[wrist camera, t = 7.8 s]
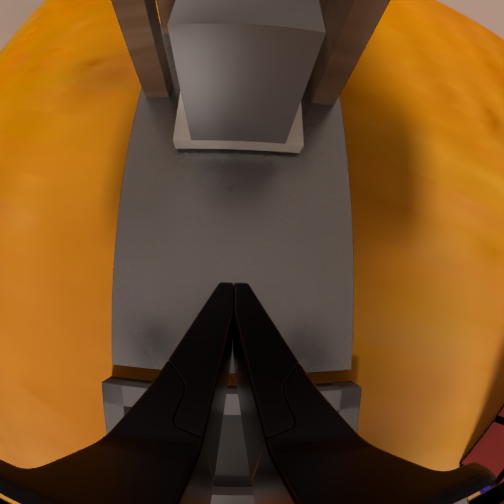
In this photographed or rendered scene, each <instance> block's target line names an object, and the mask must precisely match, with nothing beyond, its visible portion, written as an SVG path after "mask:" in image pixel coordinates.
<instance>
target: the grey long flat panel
mask: <svg viewBox="0 0 504 504" xmlns="http://www.w3.org/2000/svg"><path fill="white" fill-rule="evenodd" d="M160 27H161V32H162V37H163V41H164V46H165V50H166V55H167V59H168V64H169V68H170V73H171V77H172V83H171V88H170V93H169V97H157V98H146V96H145V94H144V91H143V89H142V88H141V92H140V96H139V100H138V104H137V108H136V113H135V117H134V122H133V127H132V131H131V136H130V142H129V147H128V152H127V158H126V164H125V170H124V176H123V183H122V189H121V197H120V204H119V213H118V221H117V231H116V242H115V254H114V269H113V289H112V364H114V365H122V366H130V367H139V368H149V369H160V370H161V369H162V368H163V366H164V365H165V363H166V362H167V361H168V359H169V357H170V356H171V354H172V353H173V351H174V350H175V348H176V347H177V345H178V344H179V342H180V341H181V339H182V338H183V336H184V335H185V333H186V332H187V330H188V329H189V327H190V326H191V324H192V323H193V321H194V320H195V318H196V317H197V315H198V314H199V312H200V311H201V309H202V308H203V306H204V305H205V303H206V302H207V300H208V299H209V297H210V296H211V294H212V293H213V291H214V290H215V288H216V287H217V285H218V284H219V283H220V282H231V283H233V285H234V283H248V284H249V285H250V287H251V289H252V290H253V292H254V293H255V295H256V296H257V298H258V299H259V301H260V303H261V304H262V306H263V307H264V309H265V310H266V312H267V314H268V315H269V317H270V318H271V320H272V321H273V323H274V324H275V326H276V327H277V329H278V331H279V332H280V334H281V335H282V337H283V338H284V340H285V341H286V343H287V344H288V346H289V347H290V349H291V351H292V352H293V354H294V355H295V357H296V358H297V360H298V361H299V364H301V366H302V367H303V369H304V370H305V372H324V371H338V370H350V369H351V362H352V342H353V307H354V269H353V233H352V213H351V197H350V183H349V171H348V161H347V151H346V141H345V133H344V125H343V117H342V110H341V103H340V96H339V97H338V99H337V101H336V103H335V105H334V106H332V105H325V104H318V103H311V92H310V82H309V80H308V83H307V86H306V89H305V91H304V94H303V97H302V100H301V108H302V123H303V141H304V146H303V148H302V150H301V152H300V153H291V152H277V151H260V150H239V149H176V148H175V145H174V142H173V136H174V129H175V122H176V115H177V109H178V103H179V97H180V86H179V82H178V77H177V72H176V67H175V62H174V57H173V52H172V47H171V42H170V36H169V34H163V30H162V25H161V24H160ZM230 373H235V369H234V361H233V342H232V359H231V366H230Z"/></svg>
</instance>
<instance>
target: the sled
mask: <svg viewBox="0 0 504 504" xmlns="http://www.w3.org/2000/svg"><path fill="white" fill-rule="evenodd" d="M167 26H168V31H169V36H170V42H171V47H172V52H173V57H174V62H175V67H176V72H177V77H178V82H179V86H180V97H179V103H178V109H177V115H176V122H175V129H174V136H173V142H174V145H175V148H176V149H239V150H260V151H277V152H291V153H300V152H301V150H302V148H303V146H304V141H303V123H302V108H301V100H302V97H303V94H304V91H305V89H306V86H307V83H308V80H309V78H310V75H311V72H312V70H313V67H314V64H315V61H316V59H317V56H318V53H319V50H320V48H321V45H322V42H323V40H324V37H325V34H326V30H325V25H324V21H323V16H322V12H321V8H320V3H319V0H176V1H175V4H174V6H173V9H172V12H171V15H170V18H169V21H168V24H167Z"/></svg>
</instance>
